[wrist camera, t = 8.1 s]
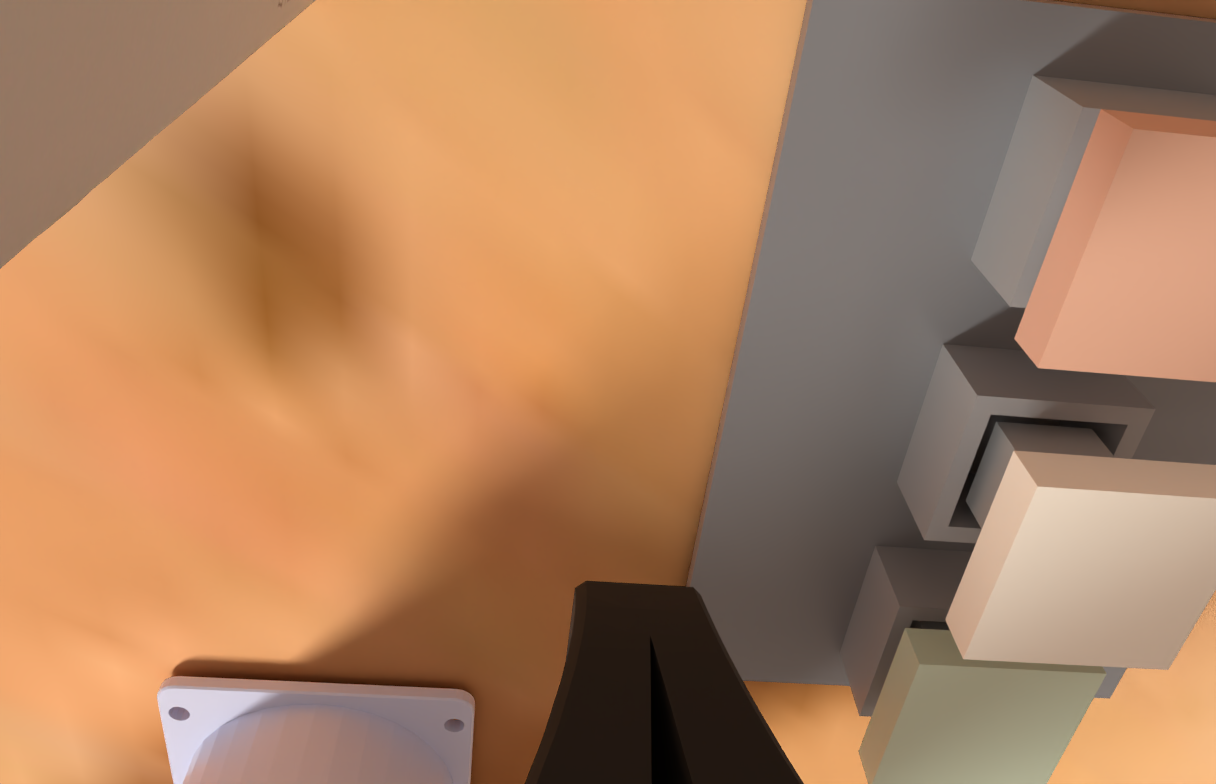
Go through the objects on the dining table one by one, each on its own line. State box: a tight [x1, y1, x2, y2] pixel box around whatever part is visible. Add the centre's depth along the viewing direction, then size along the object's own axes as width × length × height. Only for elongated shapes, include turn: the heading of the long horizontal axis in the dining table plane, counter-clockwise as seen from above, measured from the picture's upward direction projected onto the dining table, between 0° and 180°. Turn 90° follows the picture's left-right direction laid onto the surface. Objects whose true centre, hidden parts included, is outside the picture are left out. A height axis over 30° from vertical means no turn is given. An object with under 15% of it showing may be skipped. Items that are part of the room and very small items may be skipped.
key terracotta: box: [1014, 109, 1216, 382], centre depth 17 cm, size 4×4×4 cm
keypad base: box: [686, 0, 1216, 717], centre depth 21 cm, size 17×12×2 cm
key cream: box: [945, 422, 1216, 670], centre depth 19 cm, size 4×4×4 cm
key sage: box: [859, 620, 1107, 784], centre depth 22 cm, size 4×4×4 cm
